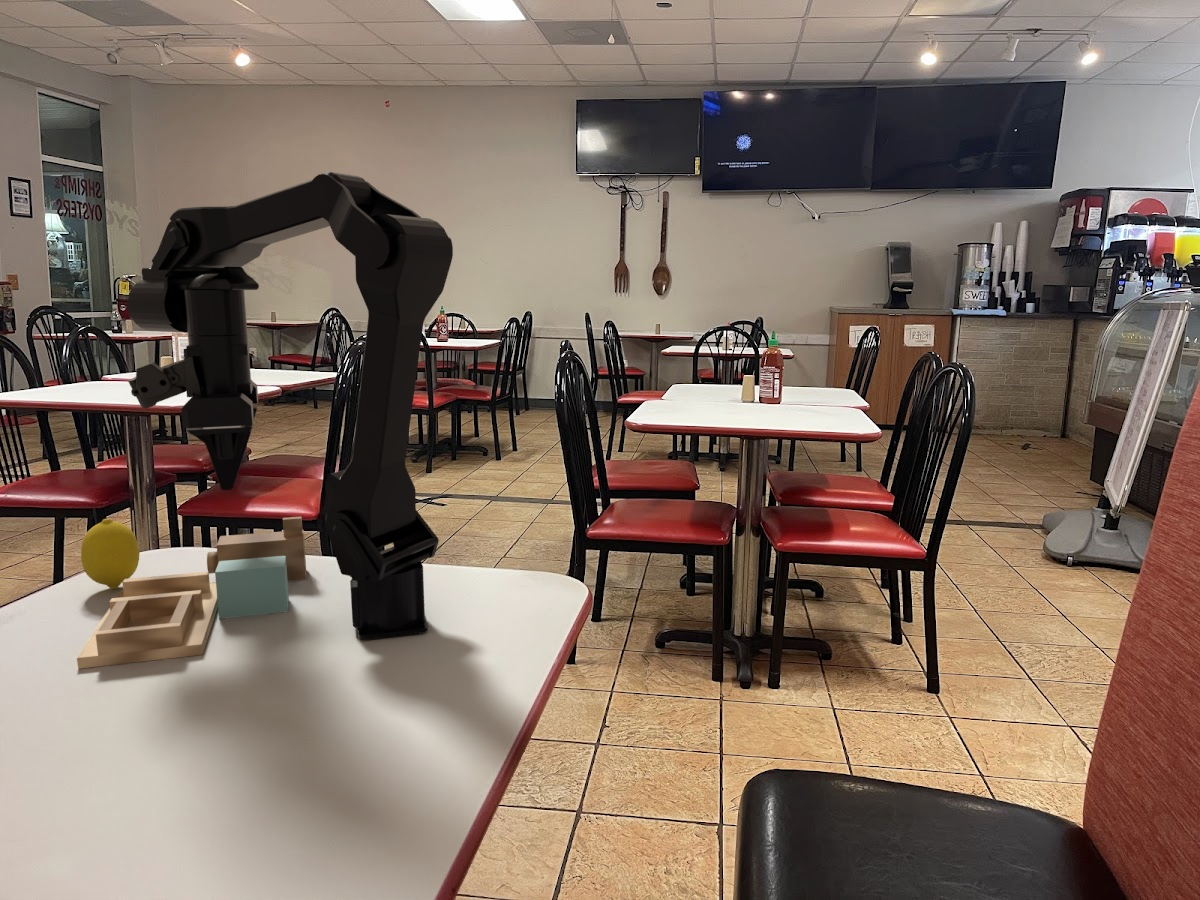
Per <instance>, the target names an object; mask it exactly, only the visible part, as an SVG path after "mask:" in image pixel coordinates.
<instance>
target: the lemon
mask: <svg viewBox="0 0 1200 900" xmlns="http://www.w3.org/2000/svg"><path fill="white" fill-rule="evenodd" d="M80 547H81V548H80V559H81V565H82V569H83V571H84V573H85V574H86V575H87V577H89V579H91V580H92V581H93V582H95V583H98V584H99V585H105V586H107V587H108V588H109V589H111V590H115V589H118V588H119V586H121V584H123V581H124V579H130V578H131V577H132V576H133V575H134V574H135V572H136V571H137V568H138V566H139V561H140V547H139V543H138V540H137V538H136V536H135V534H134V532H133V531H132V530H131V528H130V527H128V526H127V525H125V524H124V523H121V522H120V521H115V520H112V519H111V518H104V519H102V521H101V522H99V523H97V524H95V525H94V526H92V527H91V528H90V529H89V530H87V532H86V533H85V535H84V537H83V539H82V543H81V546H80Z"/></svg>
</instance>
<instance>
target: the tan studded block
mask: <svg viewBox="0 0 1200 900" xmlns="http://www.w3.org/2000/svg"><path fill="white" fill-rule="evenodd" d="M282 530H283V531H274V532H273V531H271V532H259V533H257V532H256V533H245V534H231V535H220V536H219V539H218V541H217V543H216V551H208V552H207V554H206V567H207V568H206V569H207V572H209V575H210V574H215V571H216V568H217V566H218V563H219V561H228V560H240V559H252V558H264V557H276V556H286V567H287V582H291V581H302V580H304V581H305V580H306V578H307V564H306V563H307V562H306V561H307V560H306V544H305V530H304V529H303V519H302V516H291V517H282Z"/></svg>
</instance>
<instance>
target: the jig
mask: <svg viewBox="0 0 1200 900" xmlns="http://www.w3.org/2000/svg"><path fill="white" fill-rule="evenodd" d="M122 589H123V590H120V591H119V593H118V594H117V596H116V597H111V599H110V600H109V602H108V603H109V608H108V609H107V611H106V612H105V614H104V616H103V617H102V619H101V620H100V622H99V624H98V625H97V626H96V628H95V630H94V631H93V633H92V634H91V636H90V637H89V638H88V640H87V642H86V644H85V645H84V646H83V648H82V650H81V651H80V653H79V654H78V656H77V657H76V662H77V670H78V669H86V668H87V669H88V668H96V667H104V666H113V665H122V664H124V665H125V664H133V663H138V662H139V663H140V662H149V661H150V662H151V661H157V660H165V659H166V660H167V659H175V658H184V657H192V656H193V657H194V656H200V655H203V654H204V651H205V648H206V644H207V643H208V642H207V641H208V638H209V636H210V633H211V631H212V626H213V623H214V620H215V617H216V614H217V611H218V600H217V589H216V581H215V582H210V574H209V572H208V571H203V572H202V571H201V572H189V573H178V574H167V575H157V576H156V575H155V576H144V577H132V578H131V577H130V578H128V579H124V581H123V582H122Z"/></svg>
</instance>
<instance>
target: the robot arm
mask: <svg viewBox="0 0 1200 900" xmlns="http://www.w3.org/2000/svg"><path fill="white" fill-rule="evenodd" d="M169 220H170V221H169V222H168V225H167V226H166V228H165V231H164V233H163V236H162V238H161V241H160V244H159V247H158V250H157V251H156V253H155V254H154V256H153V258H152V259H151V263H152V264H151V267H142V268H141V277H142V278H141V280H139V281H138V282H136V283H135V284H134V285H133V287H132V288H131V290H130V292H129V294H128V298H127V299H126V308H127V311H128V314H129V317H130V318H131V320H132V321H133V322H134V323H135V324H136V326H138V327H139V328H141V329H143V330H145V331H150V332H164V333H165V332H167V333H183V334H184V333H185V334H187V338H188V339H187V340H188V343H187V344H188V345H186V347H185V348H183V359H180V360H178V361H175V362H172V363H170V364H167V365H164V366H160V365H158V364H157V363H155V362H150V363H149V364H145V365H143V366H139V367H137V368H136V370H135V371H136V372H135V376H133V377H132V378H131V379H129V380H128V381H127V382H128V384H129V386H130V388H131V392H130V393H131V395H132V397H135V398H136V399H137V401H138V403H139V405H140V407H141V409H142V410H146V409H149V408H151V407H155V406H156V405H157V404H158V403H159V402H162V401H165V400H168V399H171V398H173V397H176V396H178V395H181V394H183V393H185V392H186V398H189V400H188V401H186V402H185V404H184V405H183V406H182V407H181V409H180V410H181V419H182V421H181V422H182V428H184V429H186V432H187V433H188V434H189V435H190V436H191V435H192V436H194V437H195V438H197V439H198V440H199V441H201V442H202V443H203V444H204V445H205V447H206V450H207V452H208V455H209V458H210V461H211V464H212V467H213V469H214V472H215V475H216V478H217V481H218V483H219V487H220V489H221V490H222V491H231V490H233V489H234V486H235V483H236V480H237V477H238V474H239V471H240V468H241V465H242V461H243V459H244V455H245V452H246V449H247V446H248V443H249V441H250V437H251V434H252V432H253V427H254V420H255V417H256V413H257V409H258V405H257V404H258V402H259V392H258V384H257V383H256V382H255V381H253V379H252V376H251V374H252V373H251V365H250V363H251V362H250V352H251V349H250V342H249V338H248V337H249V335H248V325H247V311H246V310H247V309H246V297H245V291H256V290H259V288H260V285H259V283H258V282H257V281H256V280H255V279H254V278H253V277H252V276H250V275H249V274H247V272H246V271H245V269H244V268H243V266H245V265H247V264H249V263H250V262H252V261H254V260H256V259H257V258H260V256H261V255H262V253H263V251H264V249H265V248H267V247H268V246H270V245H272V244H274V243H279V242H281V241H285V240H286V241H287V240H288V239H291V238H295V237H298V236H302V235H306V234H308V233H311V232H314V231H318V230H321V229H324V228H328V227H330V229H331V232H332V234H333V236H334V239H335V240H336V241H337V242H338V243H339V244H341V246H342V247H344V248H345V250H347V251H348V252H349V253H350V254H352V255H353V256H354V258H355V260H354V265H355V281H356V282H355V283H356V285H357V287H358V289H359V292H360V294H361V296H362V299H363V301H364V304H365V307H366V309H367V312H368V313H367V314H368V315H367V316H368V317H367V326H366V334H365V344H364V353H363V360H362V367H361V368H362V370H361V379H360V387H359V395H358V404H357V405H358V406H357V412H356V414H357V415H356V423H355V431H354V439H353V447H352V449H353V450H352V455H351V460H350V462H349V464H348V465H347V466H346V469H343V470H340V471H336V472H332V473H329V474H327V477H326V481H325V484H324V485H325V486H324V487H325V498H324V499H325V500H324V505H323V507H322V509H321V511H320V514H321V515H325V531H326V534H327V536H328V538H329V541H330V544H331V547H332V550H333V553H334V556H335V560H336V562H337V565H338V569H339V571H340V573H341V575H344V576H349V577H350V578H351V579H350V580H349V581H350V582H349V583H350V585H349V586H350V600H351V604H350V605H351V618H352V626H353V627H354V628H357V632H358V639H360V640H370V639H379V638H387V637H398V636H404V635H412V634H422V633H427V632H428V630H429V626H428V621H427V618H426V614H425V613H426V612H425V611H426V610H425V589H424V588H425V587H424V586H425V581H424V579H425V578H424V566H423V561H425V560H427V559H431V558H433V557H435V556H436V553H437V547H438V545H439V538H438V536H437V535H436V534H435V532H434V531H433V530H432V528H431V527H430V526H429V524H427V522H426V521H425V519H424V518H423V517H422V515H421V514H420V513H419V512H418V510H417V507H416V504H417V503H416V502H417V501H416V500H417V499H416V498H417V497H416V495H417V494H416V486H415V484H414V482H413V480H412V477H411V475H410V474H409V471H408V469H407V467H406V455H407V449H408V443H409V441H408V440H409V433H410V427H411V420H412V419H411V418H412V411H413V403H414V397H415V388H416V381H417V374H418V366H419V360H420V353H421V352H420V351H421V345H422V344H421V343H422V336H423V329H424V323H425V320H426V317H427V316H428V314H429V312H430V311H431V310H432V308H433V307H434V305H435V303H436V302H437V301H438V300H439V298H440V296H441V294H442V293H443V291H444V289H445V285H446V282H447V278H448V275H449V271H450V267H451V265H452V260H453V256H454V249H453V241H452V238H451V237H449V236H448V233H447V231H446V229H445V228H444V227H443V225H441V224H440V223H439V222H438V221H437V220H434V219H431V218H427V217H421V216H420V215H419V214H417V212H415V211H414V210H413V209H411V208H409V207H407V206H405V205H403V204H402V203H400V202H398V201H397V200H395V199H393V198H391V197H390V196H387V195H386V194H384V193H382V192H381V191H380V190H378V189H377V188H376V187H375V186H373V185H372V184H371V183H370V182H368V181H366V180H365V179H364V178H363V177H360V176H357V175H352V174H345V173H339V172H332V171H325V172H322V173H320V174H317V175H316V176H315V177H313V179H310V180H307V181H305V182H300V183H298V184H296V185H293V186H290V187H286V188H284V189H281V190H278V191H275V192H272V193H269V194H266V195H263V196H261V197H257V198H254V199H251V200H248V201H246V202H243V203H240V204H237V205H230V206H195V207H182V208H178V209H176V210H175V211H174V212H173V213H172V214H171V215H170V217H169ZM391 544H393V546H391V547H388V548H387V549H383V550H381V551H379V549H381V548H384V547H386V546H388V545H391Z"/></svg>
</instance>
